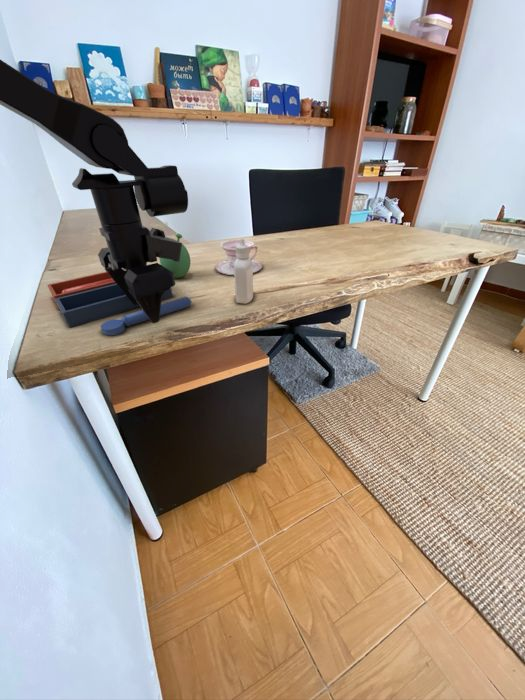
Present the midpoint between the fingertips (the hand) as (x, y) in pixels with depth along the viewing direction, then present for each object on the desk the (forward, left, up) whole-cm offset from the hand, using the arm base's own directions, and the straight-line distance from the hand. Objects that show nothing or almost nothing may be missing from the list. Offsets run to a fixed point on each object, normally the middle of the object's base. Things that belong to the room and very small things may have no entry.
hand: (145, 312), depth 53 cm
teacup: (+29, +11, -2) cm, 31 cm away
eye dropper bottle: (+19, -5, -2) cm, 20 cm away
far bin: (-2, +19, -1) cm, 19 cm away
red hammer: (-2, +19, -1) cm, 19 cm away
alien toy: (+14, +16, -2) cm, 22 cm away
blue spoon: (+1, 0, -1) cm, 2 cm away
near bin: (-2, +10, -1) cm, 10 cm away
